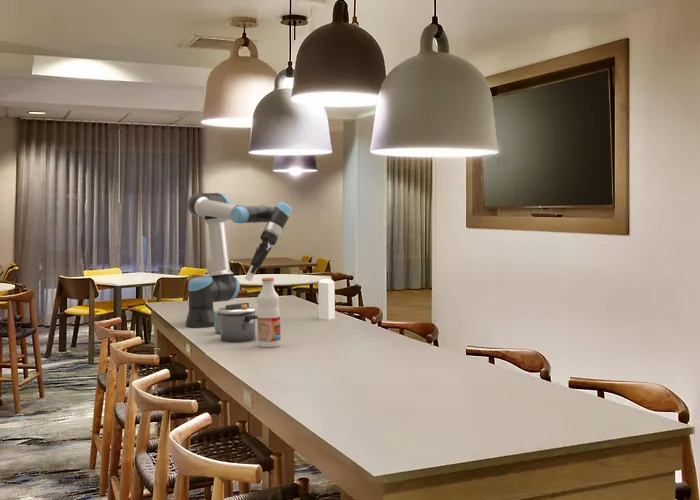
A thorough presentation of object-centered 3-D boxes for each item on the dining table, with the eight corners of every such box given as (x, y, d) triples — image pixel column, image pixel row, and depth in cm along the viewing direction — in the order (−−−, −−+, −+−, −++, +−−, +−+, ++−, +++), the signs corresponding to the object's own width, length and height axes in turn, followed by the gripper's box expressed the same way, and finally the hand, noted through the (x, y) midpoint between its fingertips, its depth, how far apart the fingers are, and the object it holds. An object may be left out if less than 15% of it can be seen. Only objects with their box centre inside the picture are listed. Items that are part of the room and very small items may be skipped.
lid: (239, 307, 343) (239, 300, 343) (263, 310, 332) (263, 303, 332) (211, 312, 331) (210, 304, 331) (235, 315, 320) (235, 307, 320)
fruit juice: (257, 344, 320) (256, 277, 319) (280, 343, 322) (278, 276, 320) (257, 348, 311) (256, 279, 309) (281, 347, 312) (279, 278, 311)
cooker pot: (236, 334, 345) (235, 308, 344) (266, 339, 331) (266, 311, 331) (209, 339, 333) (208, 311, 333) (240, 344, 320) (239, 315, 319)
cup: (227, 334, 346) (227, 312, 345) (211, 334, 347) (211, 312, 347) (233, 331, 353) (233, 310, 353) (217, 331, 355) (217, 309, 354)
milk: (325, 317, 393) (324, 275, 392) (335, 318, 390) (334, 275, 389) (318, 319, 388) (318, 276, 387) (328, 320, 385) (328, 276, 384)
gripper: (283, 236, 343) (260, 282, 336) (272, 239, 355) (249, 284, 348) (269, 228, 341) (245, 274, 333) (259, 231, 352) (235, 276, 345)
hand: (247, 279), depth 341 cm, fingers closed
